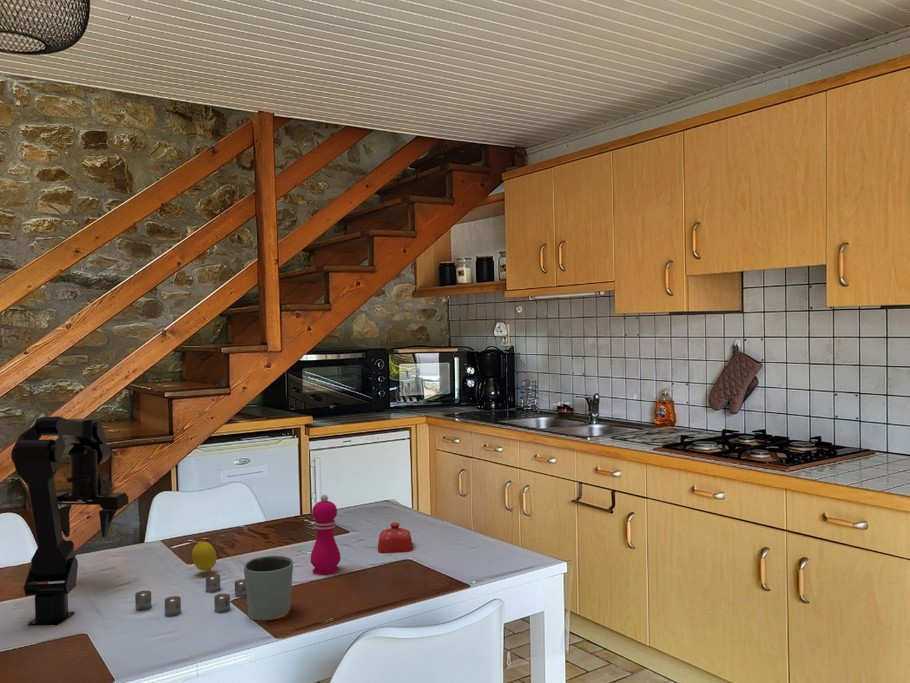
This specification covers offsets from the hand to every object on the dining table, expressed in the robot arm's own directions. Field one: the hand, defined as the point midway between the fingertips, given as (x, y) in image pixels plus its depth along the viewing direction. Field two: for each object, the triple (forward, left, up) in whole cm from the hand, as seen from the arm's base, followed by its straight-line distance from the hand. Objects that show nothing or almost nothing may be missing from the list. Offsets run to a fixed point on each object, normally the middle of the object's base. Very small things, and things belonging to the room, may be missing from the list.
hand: (86, 536), depth 180 cm
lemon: (+9, -26, -11) cm, 30 cm away
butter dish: (+29, -69, -12) cm, 76 cm away
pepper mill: (+10, -55, -12) cm, 57 cm away
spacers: (-10, -30, -12) cm, 34 cm away
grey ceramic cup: (-17, -50, -12) cm, 54 cm away
